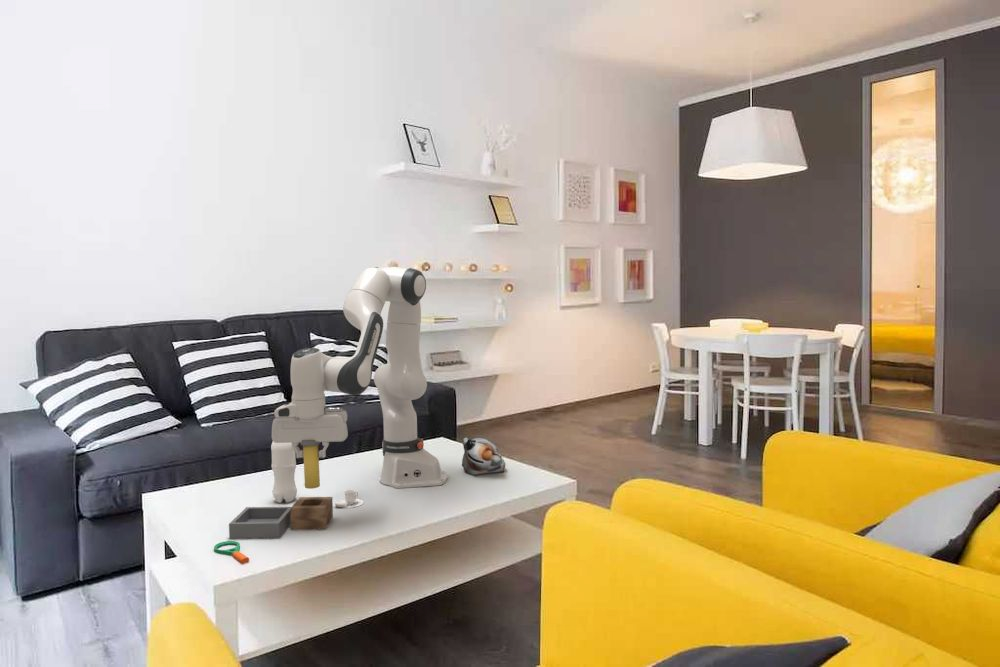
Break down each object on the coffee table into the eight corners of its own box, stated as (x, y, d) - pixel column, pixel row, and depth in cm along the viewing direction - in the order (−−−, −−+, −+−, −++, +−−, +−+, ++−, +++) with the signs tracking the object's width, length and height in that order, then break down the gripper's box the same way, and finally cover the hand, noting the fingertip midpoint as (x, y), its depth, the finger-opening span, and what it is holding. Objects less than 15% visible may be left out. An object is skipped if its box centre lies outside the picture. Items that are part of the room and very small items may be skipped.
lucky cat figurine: (513, 468, 243) (514, 436, 234) (491, 492, 234) (491, 459, 225) (475, 449, 251) (475, 417, 242) (452, 471, 242) (451, 438, 233)
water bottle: (290, 495, 216) (287, 416, 214) (301, 500, 211) (299, 420, 208) (268, 500, 211) (265, 420, 209) (279, 506, 206) (276, 423, 203)
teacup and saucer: (336, 511, 202) (336, 497, 202) (331, 503, 209) (331, 490, 209) (366, 507, 205) (365, 493, 205) (360, 499, 213) (360, 486, 212)
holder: (332, 517, 196) (332, 496, 195) (325, 529, 186) (324, 507, 186) (300, 517, 195) (299, 497, 195) (291, 529, 186) (290, 508, 186)
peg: (324, 483, 193) (322, 436, 192) (319, 489, 188) (317, 440, 186) (305, 483, 193) (303, 436, 191) (300, 489, 188) (298, 441, 186)
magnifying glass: (210, 549, 174) (210, 543, 174) (234, 543, 178) (233, 537, 178) (233, 568, 163) (232, 561, 163) (257, 561, 167) (257, 554, 167)
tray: (293, 520, 193) (292, 506, 193) (279, 538, 180) (278, 523, 180) (246, 521, 193) (246, 507, 193) (229, 538, 180) (228, 523, 180)
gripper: (349, 404, 191) (351, 453, 193) (275, 406, 191) (278, 455, 192) (344, 409, 185) (346, 459, 186) (268, 411, 185) (270, 461, 186)
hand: (311, 457), depth 189 cm, fingers closed on peg, 5 cm apart
